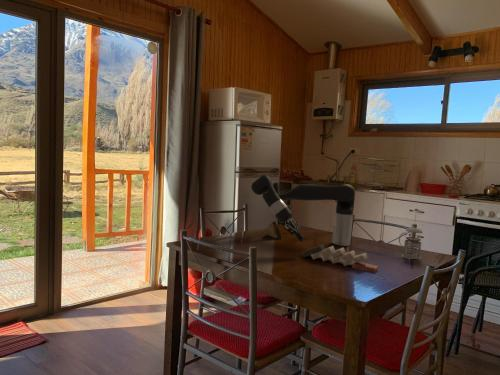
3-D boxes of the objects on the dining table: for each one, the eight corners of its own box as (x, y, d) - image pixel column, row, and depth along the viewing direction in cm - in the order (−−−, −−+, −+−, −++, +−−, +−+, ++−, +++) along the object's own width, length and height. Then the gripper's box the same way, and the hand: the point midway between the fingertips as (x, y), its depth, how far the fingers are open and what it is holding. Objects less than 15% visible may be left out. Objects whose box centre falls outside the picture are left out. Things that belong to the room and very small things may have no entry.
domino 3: (320, 256, 183) (340, 249, 179) (324, 254, 188) (343, 247, 183) (323, 261, 183) (342, 254, 178) (326, 259, 187) (345, 252, 183)
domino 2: (310, 254, 186) (329, 247, 181) (314, 252, 190) (333, 245, 185) (312, 259, 185) (331, 252, 181) (316, 257, 190) (335, 250, 185)
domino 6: (352, 263, 176) (375, 268, 171) (355, 261, 180) (378, 265, 175) (352, 269, 176) (375, 273, 171) (355, 266, 181) (377, 271, 176)
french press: (423, 261, 196) (429, 210, 194) (398, 258, 198) (404, 208, 196) (419, 256, 206) (424, 208, 203) (395, 253, 208) (400, 206, 206)
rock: (262, 230, 233) (264, 231, 223) (271, 219, 234) (273, 220, 224) (276, 242, 233) (278, 244, 223) (285, 231, 234) (288, 232, 224)
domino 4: (330, 258, 181) (350, 252, 176) (334, 256, 185) (354, 250, 180) (332, 263, 181) (353, 257, 176) (336, 261, 185) (356, 255, 180)
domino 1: (301, 253, 188) (319, 245, 183) (305, 251, 192) (323, 243, 188) (303, 257, 188) (321, 250, 183) (307, 255, 192) (325, 248, 187)
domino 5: (342, 261, 178) (363, 254, 173) (345, 258, 183) (366, 252, 178) (344, 266, 178) (365, 260, 173) (347, 263, 182) (368, 257, 177)
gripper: (281, 214, 202) (302, 242, 197) (269, 217, 190) (291, 247, 186) (291, 205, 199) (313, 233, 194) (280, 207, 187) (302, 237, 182)
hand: (302, 240), depth 190 cm, fingers closed
